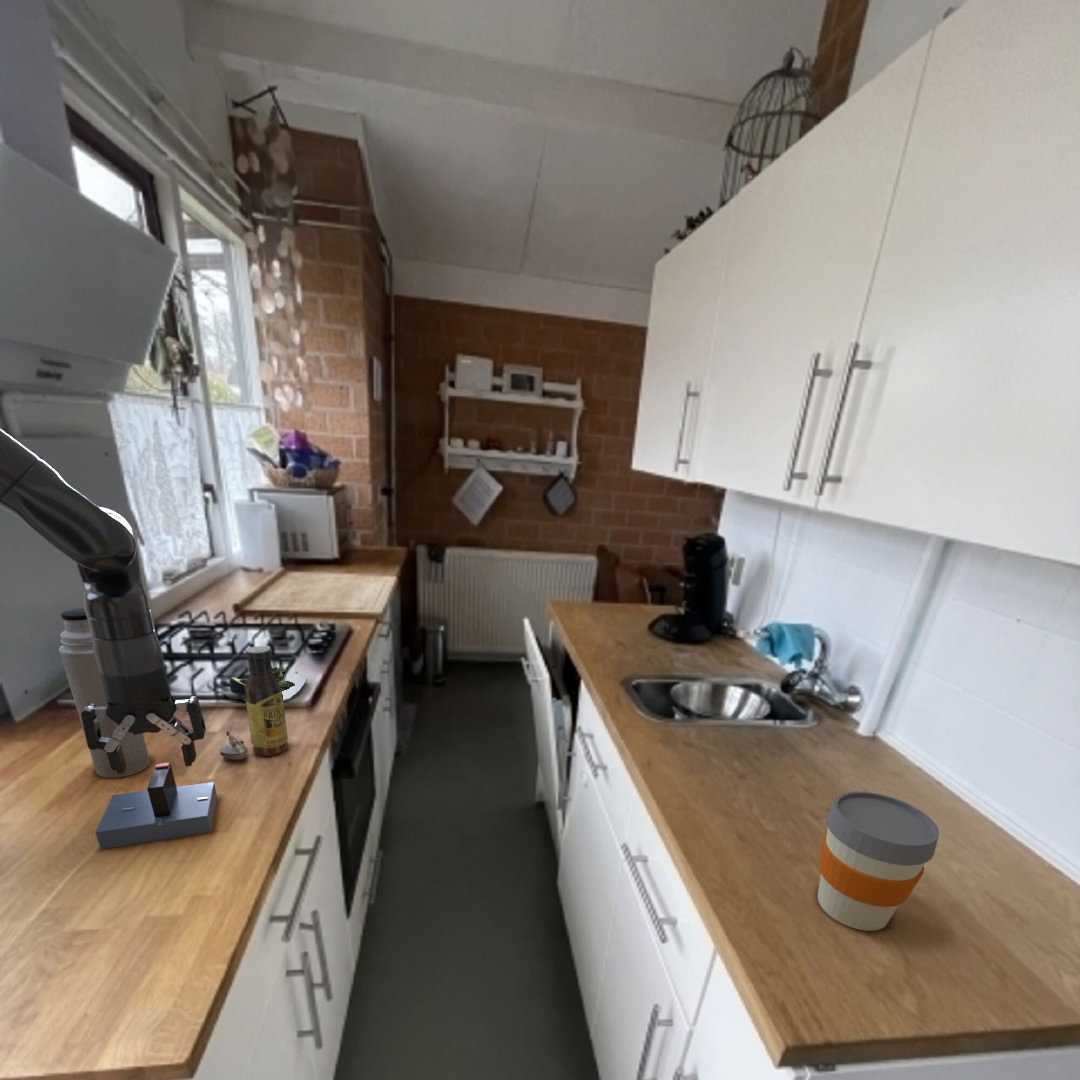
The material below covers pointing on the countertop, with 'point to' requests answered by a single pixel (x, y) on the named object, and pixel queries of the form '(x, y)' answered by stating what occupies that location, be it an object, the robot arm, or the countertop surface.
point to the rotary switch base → (137, 824)
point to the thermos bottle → (95, 693)
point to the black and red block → (162, 790)
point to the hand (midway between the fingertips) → (156, 767)
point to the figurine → (233, 748)
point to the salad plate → (239, 684)
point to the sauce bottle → (264, 704)
